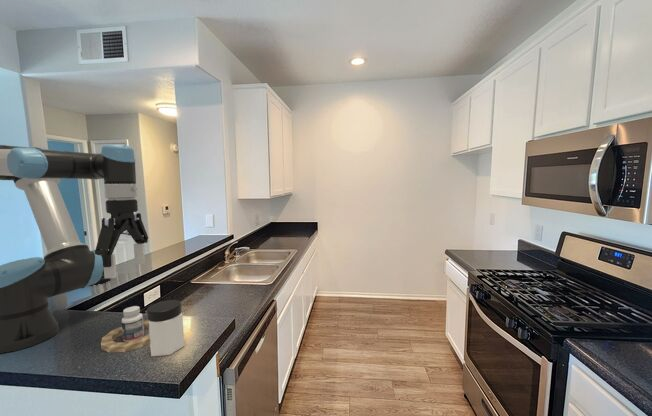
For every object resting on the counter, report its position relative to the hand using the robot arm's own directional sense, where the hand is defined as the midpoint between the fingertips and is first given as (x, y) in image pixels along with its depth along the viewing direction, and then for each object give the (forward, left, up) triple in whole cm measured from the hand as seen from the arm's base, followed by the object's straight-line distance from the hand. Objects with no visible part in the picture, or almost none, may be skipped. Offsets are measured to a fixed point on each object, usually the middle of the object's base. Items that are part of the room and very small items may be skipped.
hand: (126, 270), depth 84 cm
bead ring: (+2, -2, -20) cm, 20 cm away
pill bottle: (+2, -2, -20) cm, 20 cm away
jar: (+15, -9, -20) cm, 26 cm away
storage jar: (-46, +53, -20) cm, 73 cm away
